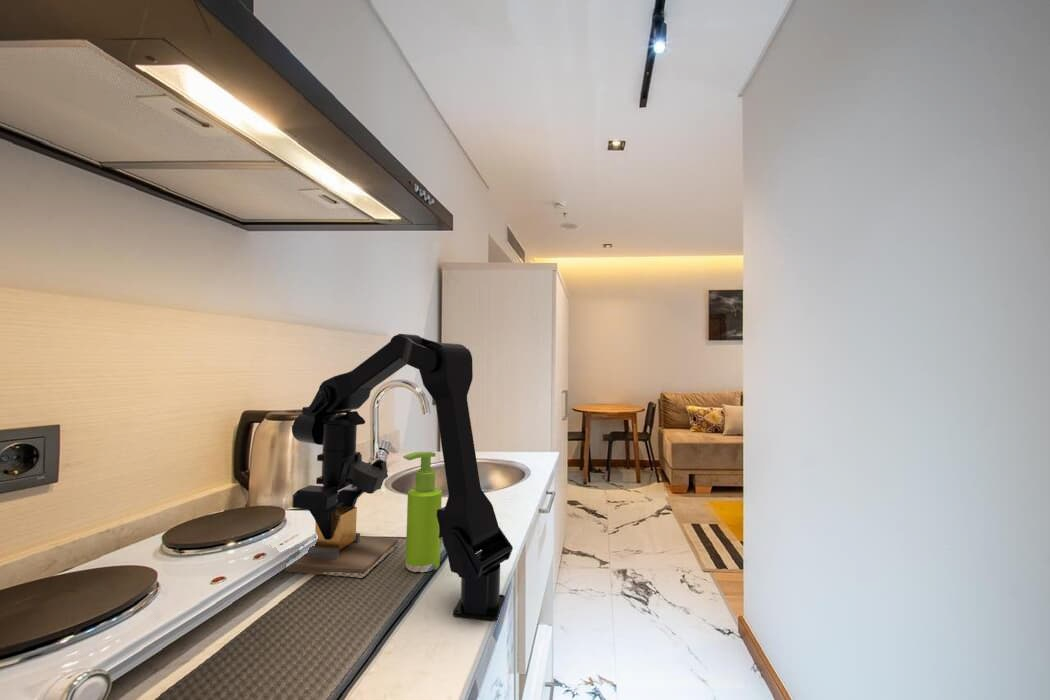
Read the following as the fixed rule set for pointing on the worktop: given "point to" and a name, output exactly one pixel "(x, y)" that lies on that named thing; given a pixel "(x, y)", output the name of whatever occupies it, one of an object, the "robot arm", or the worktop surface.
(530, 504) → the worktop surface
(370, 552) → the dock
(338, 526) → the block
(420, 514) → the soap dispenser
